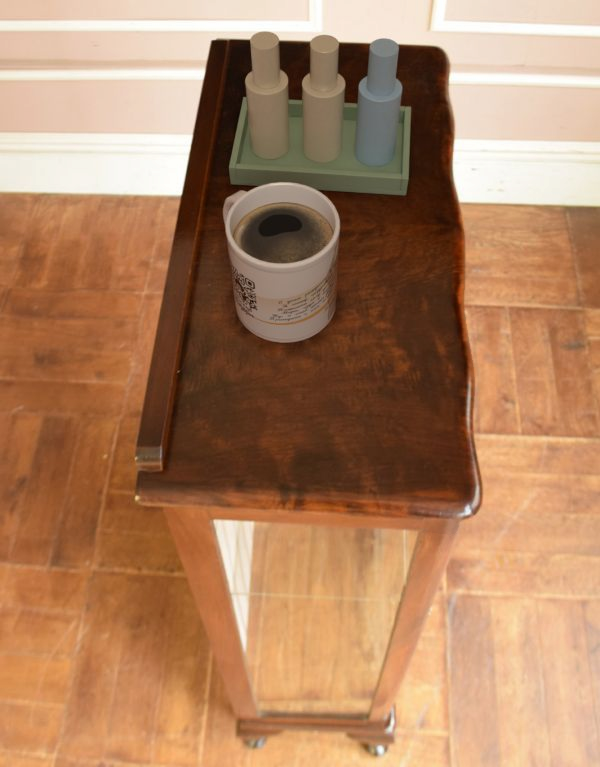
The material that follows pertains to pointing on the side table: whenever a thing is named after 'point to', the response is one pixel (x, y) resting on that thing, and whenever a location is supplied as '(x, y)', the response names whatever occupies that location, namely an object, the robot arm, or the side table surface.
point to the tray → (322, 176)
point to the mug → (283, 259)
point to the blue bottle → (378, 106)
